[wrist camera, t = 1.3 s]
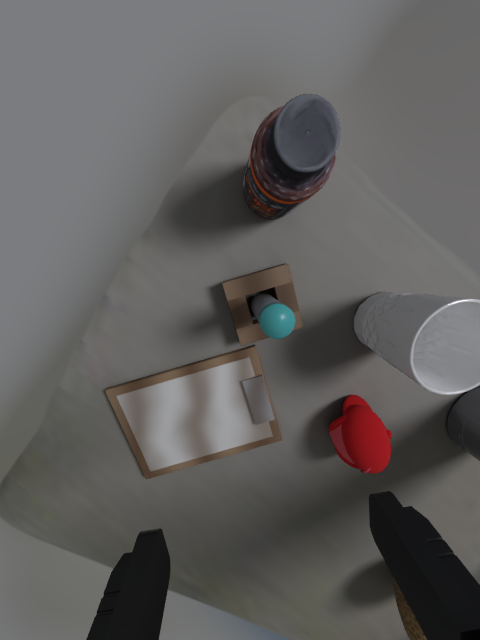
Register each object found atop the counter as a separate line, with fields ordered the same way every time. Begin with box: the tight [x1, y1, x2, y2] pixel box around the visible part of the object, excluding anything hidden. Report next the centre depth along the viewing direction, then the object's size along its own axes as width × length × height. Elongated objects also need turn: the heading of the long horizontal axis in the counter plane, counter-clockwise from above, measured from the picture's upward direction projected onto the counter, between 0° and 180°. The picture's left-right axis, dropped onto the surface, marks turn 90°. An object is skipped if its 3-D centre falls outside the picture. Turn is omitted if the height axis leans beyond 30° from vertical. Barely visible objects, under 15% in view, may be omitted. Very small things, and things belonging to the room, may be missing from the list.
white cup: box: [354, 292, 480, 395], centre depth 24 cm, size 8×8×10 cm
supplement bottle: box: [243, 94, 341, 219], centre depth 20 cm, size 6×6×11 cm
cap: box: [329, 395, 392, 474], centre depth 29 cm, size 8×6×6 cm
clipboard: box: [105, 345, 282, 479], centre depth 30 cm, size 18×13×1 cm
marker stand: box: [222, 264, 303, 346], centre depth 27 cm, size 7×7×2 cm
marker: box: [251, 293, 295, 339], centre depth 23 cm, size 3×3×9 cm
